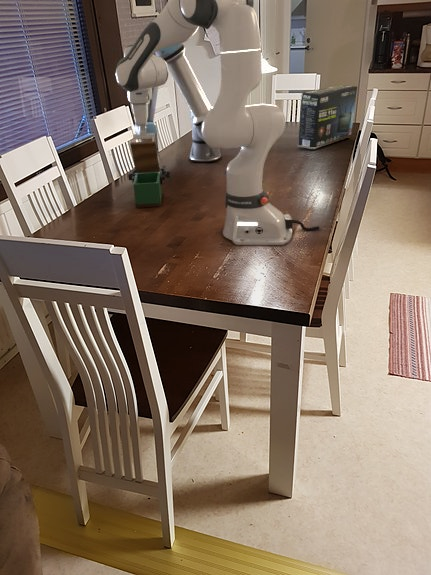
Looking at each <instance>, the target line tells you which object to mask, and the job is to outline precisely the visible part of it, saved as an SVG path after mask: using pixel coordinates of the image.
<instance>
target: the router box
mask: <svg viewBox="0 0 431 575" xmlns="http://www.w3.org/2000/svg"><path fill="white" fill-rule="evenodd" d="M357 93H358V86H356V85H350V84H339V85H338V84H337V85H334V86H328V87H324V88H318V89H314V90H309V91H304V92H301V93H300V109H299V110H300V111H299V124H298V137H297V146H298V145H302V146H307V147H317V146H320V145H323V144H325V143H328V142H331V141H333V140H336V139H338V138H341V137H344V136H347V135H351V136H352V133H353V132H352V131H353V125H354V115H355V109H356V99H357ZM311 151H313V150H312V149H311Z"/></svg>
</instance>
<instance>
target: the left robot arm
mask: <svg viewBox="0 0 431 575" xmlns="http://www.w3.org/2000/svg"><path fill="white" fill-rule="evenodd" d="M151 22H152V21H150V22H149V23H147V26H148V25H149V24H150V23H151ZM147 26H146V27H147ZM185 50H186V48H185V45H184V43H182V44H178V45H174V46H170V47H167V48H164V49H161V50H159V51H157V52H156V53H154V55H156V56H158V57H161V58H163V59H164V60H165V62H166V64H167V66H168V73H169V74H170V75H171V77H172V79H173V81H174V83H175V84H176V86H177V88H178V90H179V92H180V94H181V96H182V97H183V99H184V101H185V103H186V105H187V106H188V109H189V110H190V123H191V124H190V125H191V137H192V145H191V148H190V153H189V161H191V162H192V163H193V162H194V163H197V164H207V163H208V164H209V163H214V162H218V161H220V160H221V156H222V155H221V151H220V149H214V148H211V147H209V146H208V145H207V144H206V142H205V141H204V139H203V136H202V123H203V120H204V118H205V116H206V115H207V114H208V113H209V112H210V111H211V109H212V108H213V106H211V104H210V102H209V100H208V98H207V96H206V94H205V92H204V90H203V89H202V86H201V84H200V83H199V81H198V79H197V77H196V75H195V73H194V71H193V69H192V67H191V65H190V63H189V60H188V59H187V57H186V56H185ZM158 92H159V86H157V87H152V99H151V100H150V101H149V103H150V104H148V118H147V124H146V129H147V131H146V134H149V133H154V134H155V138H154V141H156V148H157V155H158V162H159V163H160V161H161V156H160V150H159V149H160V148H159V141H158V140H159V138H158V129H157V124H156V123H155V122H154V120H155V113H156V106H157V100H158ZM133 130H134V134H141V130H140V126H137V125H136V123H135V124H134V128H133ZM139 141H140V142H149V141H152V139H139ZM159 169H160V171H158V172H160V185H161V186H162V185H163V181H166V178H167V179H170V178H171V173H170V170H169V169H168V168H167V165H163V166H161V167H160V166H159ZM141 173H151V172H141ZM135 176H136V170H135V166H134V167H133V168H132V170H130V171H129V172H128V174H127V177H128V181H132V183H134V180H135Z"/></svg>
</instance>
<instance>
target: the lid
mask: <svg viewBox="0 0 431 575" xmlns="http://www.w3.org/2000/svg"><path fill="white" fill-rule="evenodd" d="M154 138H155V134H154V133H149V134H146V135H141V134H136V133H134V134H132V139H133V142H130V143H129V146H130V150H131V155H132V160H133V165H134V167H135V170H136V173H141V172H158V171H160V169H159V167H160V162H158V155H157V148H156V141H154ZM140 139H152V141H149V142H141V141H137V140H140Z"/></svg>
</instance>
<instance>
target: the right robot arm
mask: <svg viewBox="0 0 431 575" xmlns="http://www.w3.org/2000/svg"><path fill="white" fill-rule="evenodd" d="M254 2H255V1H254V0H167V2H166V4H165V6H164V7H163V9H162V10H161V11H160V13H159V14H158V15H157V16H156V17H155V18H154V19H153V20H151V21H150V22H151V23H150V22H149V23H150V24H149V23H148V24H149V25H148V24H147V25H148V26H146V27H145V28H144V29H143V30H142V31H141V34H140V35H139V36H138V38H137V39H136V41H135V42H134V43H133V44H129V45H127V46H125V48H124V52H123V57H122V58H120V59H119V61H118V62H117V65H116V68H115V72H114V73H115V74H114V75H115V79H116V82H117V84H118V85H119V87H121V88H122V89H123V90H125V92H127V100H128V101H129V104H131V107H132V113H133V118H134V122H135V124H136V125H137V126H140V130H141V135H146V131H147V129H146V124H147V118H148V104H150V103H149V101H150V100H151V99H152V87H157V86H158V87H161V86H164V85H165V84H166V83H167V81H168V79H169V70H168V66H167V64H166V62H165V60H164V59H163V58H161V57H158V56H156V55H154V53H156V52H157V51H159V50H161V49H164V48H167V47H170V46H174V45H178V44H182V43H183V44H184V43H186V42H187V41H189V40H190V39H191V38H192V37H193V36H194V35H195V34H196V32H197V31H198V29H199V27H200V28H203V29H205V30H208V29H210V28H211V27H212V28H214V29H215V30H216V32H217V34H218V38H219V56H220V57H219V58H220V86H219V87H220V88H219V92H218V96H217V98H216V101H215V103H214V105H213V106H212V107H213V108H212V109H211V111H210V112H209V113H208V114H207V115H206V116H205V118H204V120H203V123H202V136H203V139H204V141H205V142H206V144H207V145H208V146H209V147H211V148H214V149H219V150H230V149H236V148H240V150H239V152H238V153H237V155H236V156H235V157H234V158H232V159H231V160H230V161H229V162H228V164H227V165H226V169H225V177H226V178H225V179H226V180H225V181H226V182H225V183H226V190H225V194H224V205H225V209H226V210H225V218H224V219H225V220H224V226H223V229H222V235H223V237H225V239H228V240H230V241H232V243H233V244H234V245H236V246H283V245H286V244H288V243H289V242H290V240H291V239H292V237H293V224H297V225H299V226H300V228H301V229H302V230H303V231H310V232H311V231H315V230H316V231H317V230H320V226H319V225H316V226H311V227H306V226H305V225H304V223H303V222H302V221H300V220H297V219H293V218H292V216H291V215H290V214H289V213H287V214H284V213H283V212H282V211H280V210H279V209H278V208H277V207H276V206H275V205H272V204H271V203H270V202H269V194H270V192H269V191H267V192H266V191H265V190H263V178H264V177H263V176H264V169H265V168H264V167H265V163H266V159H267V157H268V154H269V152H270V150H271V149H272V147H273V145H274V144H275V143H276V142H277V141H278V140H279V139H280V138H281V137H282V136H283V134H284V132H285V128H286V117H285V113H284V112H283V110H282V109H281V108H280V107H279V106H278V105H274V104H267V103H259V104H251V105H247V104H246V103H247V99H248V97H249V95H250V94H251V93H252V91H254V90H255V89H257V87H259V85H260V84H261V82H262V76H263V74H262V50H261V49H262V46H261V34H260V33H261V32H260V27H259V21H258V17H257V16H258V15H257V13H256V11H255V9H254Z"/></svg>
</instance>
